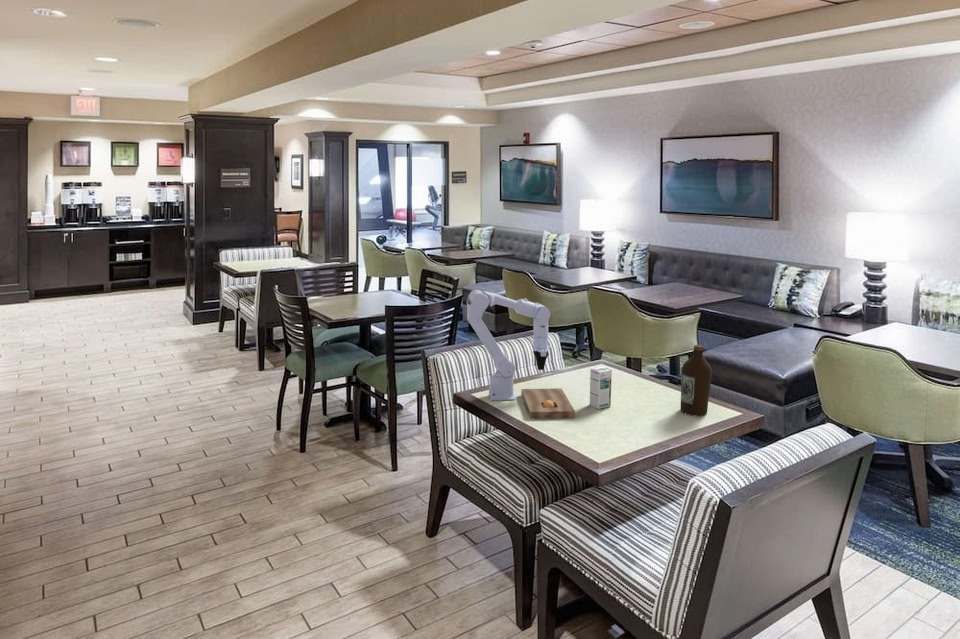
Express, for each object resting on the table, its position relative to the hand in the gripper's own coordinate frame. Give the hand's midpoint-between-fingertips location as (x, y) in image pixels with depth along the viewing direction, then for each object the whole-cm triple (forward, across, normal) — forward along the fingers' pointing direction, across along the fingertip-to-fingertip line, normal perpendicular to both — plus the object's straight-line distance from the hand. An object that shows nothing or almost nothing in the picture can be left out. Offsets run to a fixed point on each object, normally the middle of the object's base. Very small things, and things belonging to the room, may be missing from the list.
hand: (540, 369), depth 264 cm
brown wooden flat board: (+10, -13, 0) cm, 17 cm away
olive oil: (+12, -22, -53) cm, 59 cm away
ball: (+8, -18, 0) cm, 20 cm away
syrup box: (+11, -14, -20) cm, 27 cm away
